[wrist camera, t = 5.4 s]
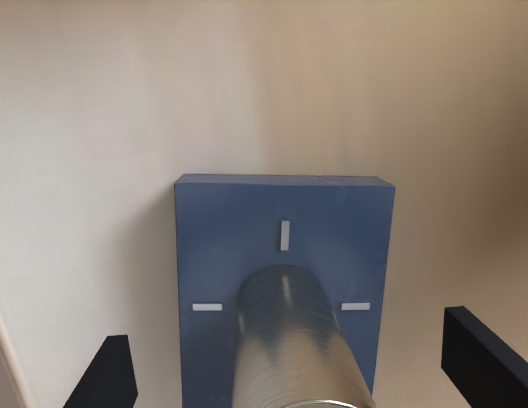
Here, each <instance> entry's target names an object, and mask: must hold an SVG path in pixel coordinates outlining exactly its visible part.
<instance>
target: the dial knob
mask: <svg viewBox="0 0 528 408" xmlns="http://www.w3.org/2000/svg"><path fill="white" fill-rule="evenodd" d="M232 408H376V405H375V403H374V401H373V399H372V396H371V394H370V392H369V390H368V387H367V385H366V383H365V380H364V378H363V376H362V374H361V371H360V369H359V367H358V365H357V362H356V360H355V358H354V356H353V353H352V351H351V349H350V346H349V344H348V342H347V340H346V337H345V335H344V333H343V331H342V328H341V326H340V324H339V322H338V319H337V317H336V315H335V312H334V310H333V308H332V306H331V303H330V301H329V299H328V297H327V294H326V292H325V290H324V288H323V286H322V284H321V283H320V281H319V280H318V279H317V278H316V277H315V276H314V275H313V274H312V273H310V272H309V271H307V270H305V269H303V268H301V267H298V266H293V265H285V264H283V265H274V266H270V267H267V268H264V269H262V270H260V271H258V272H257V273H255V274H254V275H253V276H251V277H250V278H249V279H248V280H247V281H246V283H245V284H244V285H243V287H242V289H241V291H240V293H239V296H238V300H237V311H236V331H235V350H234V369H233V388H232Z"/></svg>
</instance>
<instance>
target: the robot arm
mask: <svg viewBox="0 0 528 408" xmlns="http://www.w3.org/2000/svg"><path fill="white" fill-rule="evenodd" d="M441 368H442V369H443V371H444V372H445V373H446V374H447V376H448V377H449V378H450V380H451V381H452V382H453V384H454V385H455V386H456V388H457V389H458V390H459V391H460V393H461V394H462V395H463V397H464V398H465V399H466V401H467V402H468V403H469V404H470V406H471V407H472V408H528V363H527V362H526V361H525V360H524V359H523V358H522V357H521V356H519V355H518V354H517V353H516V352H515V351H514V350H513V349H512V348H510V347H509V346H508V345H507V344H506V343H505V342H504V341H503V340H501V339H500V338H499V337H498V336H497V335H496V334H495V333H494V332H492V331H491V330H490V329H489V328H488V327H487V326H486V325H484V324H483V323H482V322H481V321H480V320H479V319H478V318H477V317H475V316H474V315H473V314H472V313H471V312H470V311H469V310H468V309H466V308H465V307H464V306H459V307H447V308H445V312H444V328H443V344H442V360H441ZM137 396H138V392H137V386H136V380H135V375H134V369H133V363H132V358H131V352H130V346H129V341H128V335H115V336H107V338H106V339H105V341H104V342H103V344H102V346H101V347H100V349H99V350H98V352H97V354H96V355H95V357H94V358H93V360H92V362H91V363H90V365H89V367H88V368H87V370H86V371H85V373H84V375H83V376H82V378H81V379H80V381H79V383H78V384H77V386H76V387H75V389H74V391H73V392H72V394H71V395H70V397H69V399H68V400H67V402H66V403H65V405H64V407H63V408H133V406H134V404H135V401H136V398H137Z"/></svg>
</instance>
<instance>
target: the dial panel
mask: <svg viewBox="0 0 528 408" xmlns="http://www.w3.org/2000/svg"><path fill="white" fill-rule="evenodd" d="M174 192H175V219H176V246H177V273H178V300H179V327H180V354H181V381H182V408H232V388H233V369H234V350H235V331H236V311H237V300H238V296H239V293H240V291H241V289H242V287H243V285H244V284H245V283H246V281H247V280H248V279H249V278H250V277H251V276H253V275H254V274H255V273H257V272H258V271H260V270H262V269H264V268H267V267H270V266H274V265H283V264H285V265H293V266H298V267H301V268H303V269H305V270H307V271H309V272H310V273H312V274H313V275H314V276H315V277H316V278H317V279H318V280H319V281H320V283H321V284H322V286H323V288H324V290H325V292H326V294H327V297H328V299H329V301H330V303H331V306H332V308H333V310H334V312H335V315H336V317H337V319H338V322H339V324H340V326H341V328H342V331H343V333H344V335H345V337H346V340H347V342H348V344H349V346H350V349H351V351H352V353H353V356H354V358H355V360H356V362H357V365H358V367H359V369H360V371H361V374H362V376H363V378H364V380H365V383H366V385H367V387H368V390H369V392H370V394H371V396H372V393H373V384H374V375H375V366H376V357H377V348H378V339H379V330H380V321H381V311H382V302H383V293H384V284H385V275H386V266H387V257H388V248H389V239H390V230H391V221H392V212H393V203H394V194H395V186H394V185H392V184H390V183H388V182H386V181H384V180H382V179H380V178H378V177H358V176H290V175H222V174H183V175H182V176H181V177H180V178H179V179H178V180H177V181H176V182H175V183H174Z"/></svg>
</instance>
